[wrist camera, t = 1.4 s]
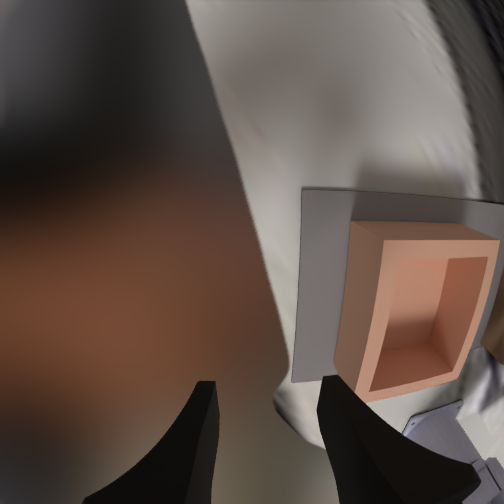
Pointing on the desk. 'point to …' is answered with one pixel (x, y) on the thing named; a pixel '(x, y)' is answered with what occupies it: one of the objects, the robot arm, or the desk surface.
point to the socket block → (410, 304)
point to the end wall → (496, 326)
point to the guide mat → (336, 256)
